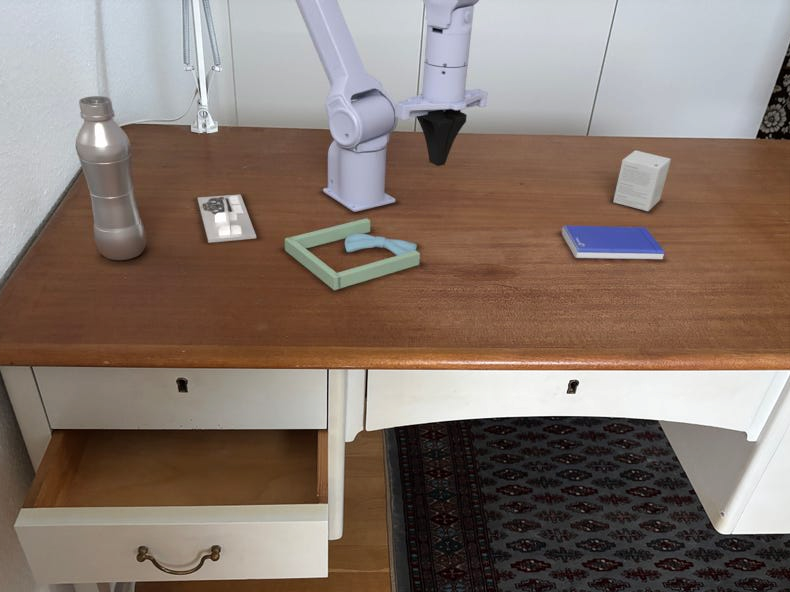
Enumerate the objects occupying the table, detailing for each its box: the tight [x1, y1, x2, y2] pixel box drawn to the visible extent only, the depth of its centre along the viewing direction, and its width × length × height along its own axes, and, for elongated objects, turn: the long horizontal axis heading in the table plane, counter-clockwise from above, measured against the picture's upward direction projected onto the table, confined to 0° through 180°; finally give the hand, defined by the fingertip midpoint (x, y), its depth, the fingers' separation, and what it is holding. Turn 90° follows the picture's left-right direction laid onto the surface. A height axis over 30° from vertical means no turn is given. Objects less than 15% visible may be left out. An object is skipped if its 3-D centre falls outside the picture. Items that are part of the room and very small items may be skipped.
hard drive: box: [561, 224, 665, 260], centre depth 103 cm, size 2×8×12 cm
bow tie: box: [344, 233, 418, 256], centre depth 100 cm, size 10×2×5 cm
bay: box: [284, 217, 421, 291], centre depth 97 cm, size 13×14×2 cm
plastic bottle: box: [74, 95, 147, 261], centre depth 90 cm, size 6×7×20 cm
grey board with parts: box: [197, 193, 257, 244], centre depth 105 cm, size 15×7×4 cm, turn 17°
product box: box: [612, 150, 672, 212], centre depth 116 cm, size 6×6×7 cm
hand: (437, 163), depth 102 cm, fingers closed
